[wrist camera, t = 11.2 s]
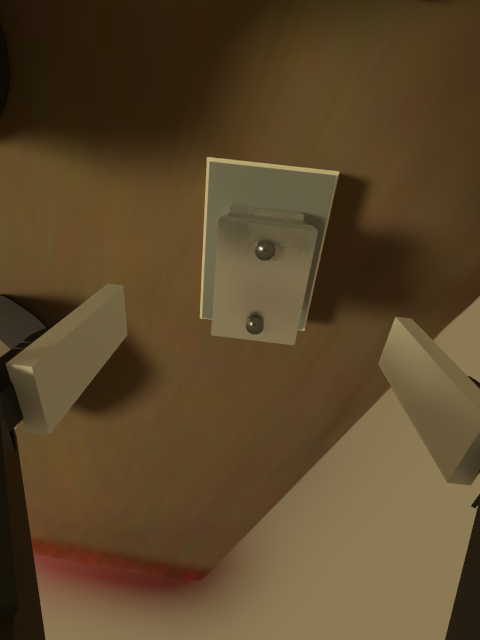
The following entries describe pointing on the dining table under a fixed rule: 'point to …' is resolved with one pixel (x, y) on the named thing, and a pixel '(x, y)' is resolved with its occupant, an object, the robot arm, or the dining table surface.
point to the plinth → (267, 192)
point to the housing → (261, 273)
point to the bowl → (15, 325)
